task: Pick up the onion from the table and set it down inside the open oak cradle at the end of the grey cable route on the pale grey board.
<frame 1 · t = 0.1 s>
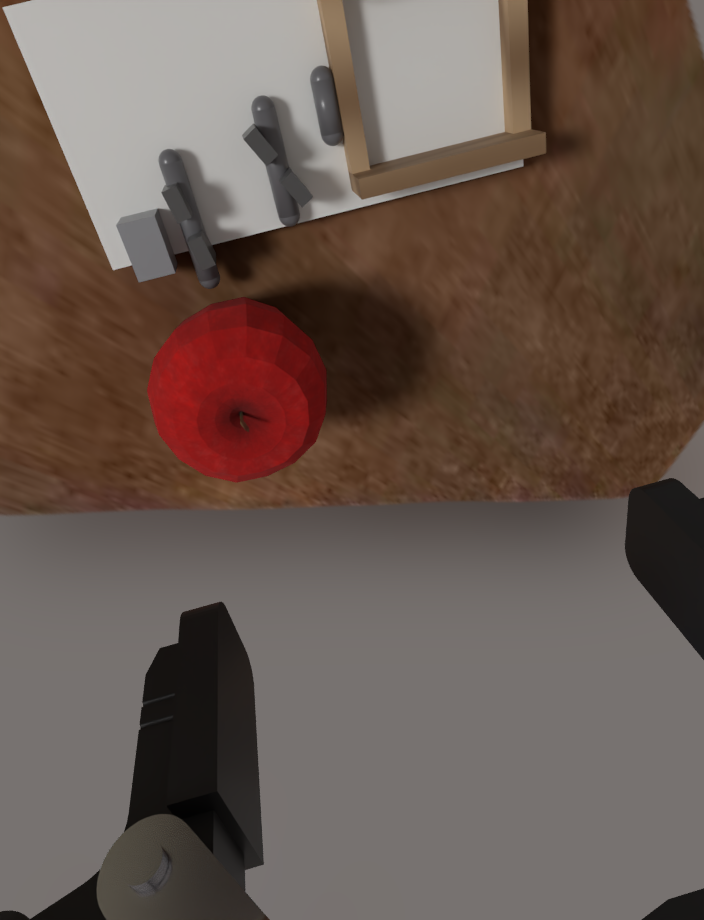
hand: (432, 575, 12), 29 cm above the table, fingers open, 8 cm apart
apple: (237, 346, 39), on the table
route board: (292, 95, 32), on the table
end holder: (426, 64, 32), resting on route board
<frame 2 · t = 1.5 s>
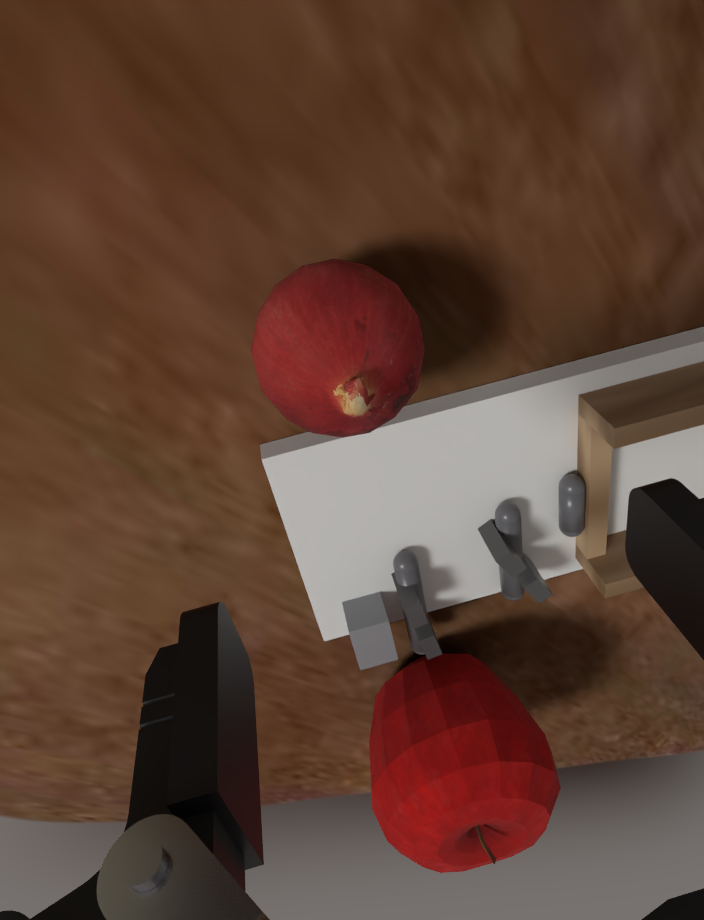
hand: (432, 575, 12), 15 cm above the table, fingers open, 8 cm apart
apple: (425, 669, 38), on the table
onion: (323, 312, 24), on the table
route board: (527, 480, 30), on the table
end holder: (674, 457, 30), resting on route board
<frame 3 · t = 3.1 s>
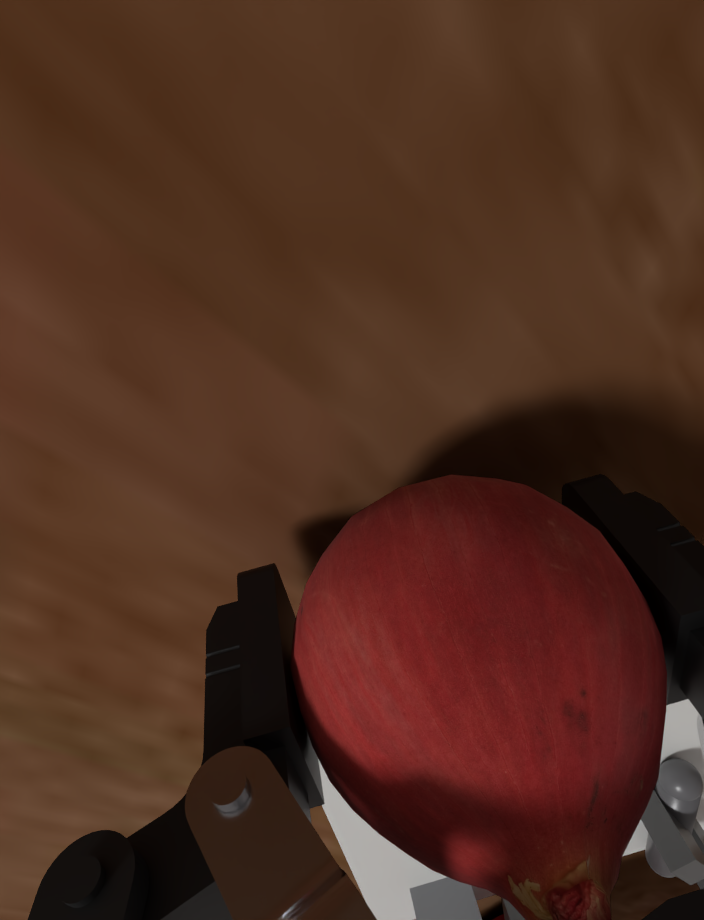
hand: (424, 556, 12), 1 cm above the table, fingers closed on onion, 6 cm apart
onion: (408, 511, 13), on the table, touching gripper
route board: (697, 708, 20), on the table
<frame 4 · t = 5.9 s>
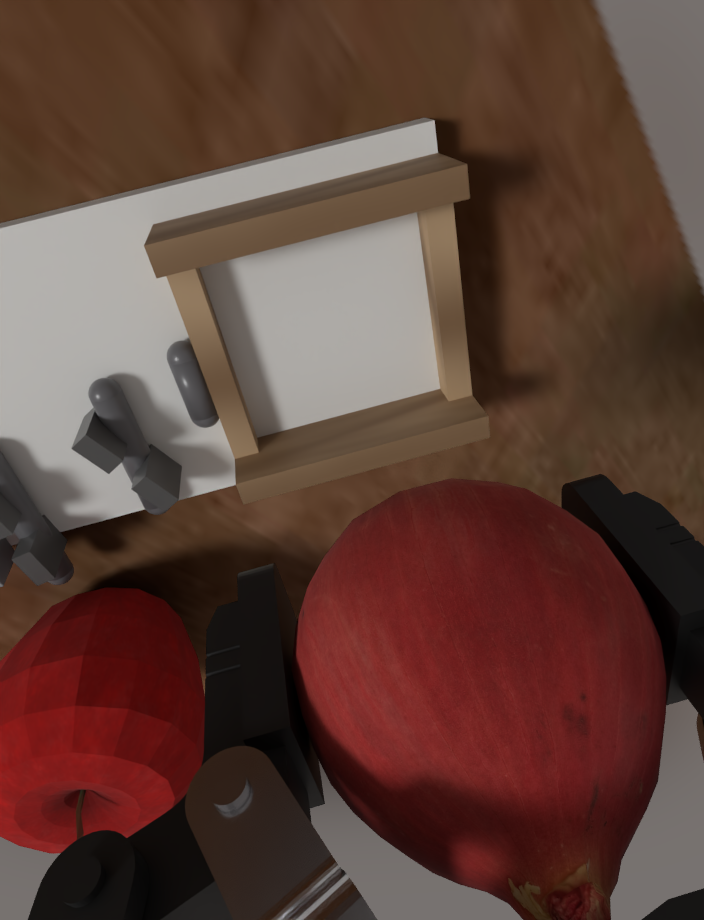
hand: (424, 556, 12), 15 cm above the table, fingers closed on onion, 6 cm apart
apple: (116, 614, 31), on the table
onion: (409, 514, 13), point 13 cm above the table, touching gripper
route board: (154, 358, 24), on the table
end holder: (328, 324, 24), resting on route board
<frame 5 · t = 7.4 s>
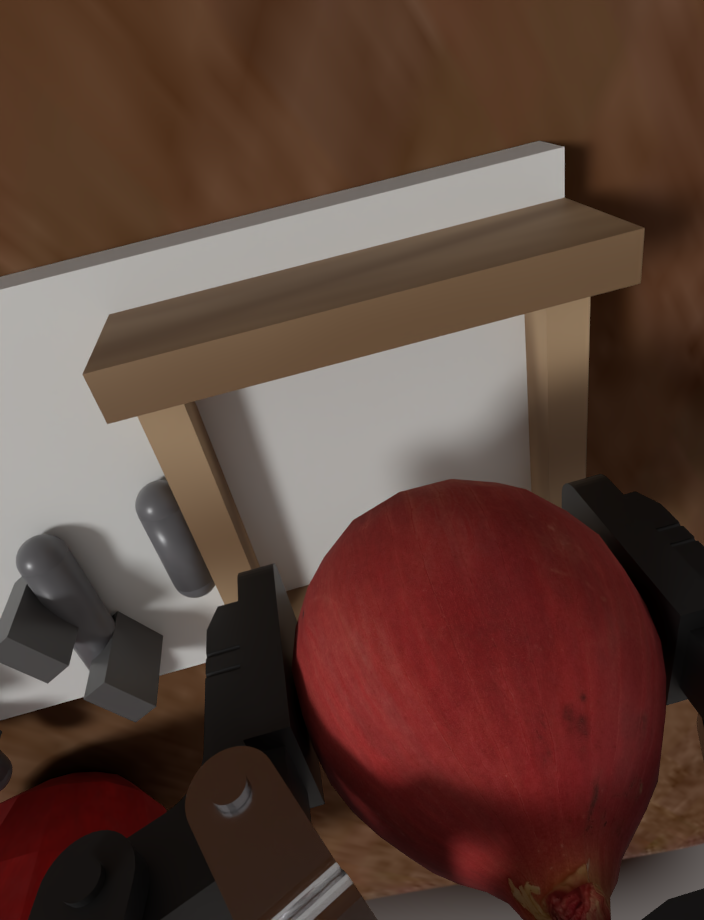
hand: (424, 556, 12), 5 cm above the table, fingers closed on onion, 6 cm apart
apple: (80, 792, 23), on the table
onion: (409, 514, 13), point 4 cm above the table, touching gripper
route board: (120, 492, 16), on the table
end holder: (380, 447, 16), resting on route board
when the fingers open (4 cm above the table, at t = 8.6 s): onion drops 2 cm, resting on route board.
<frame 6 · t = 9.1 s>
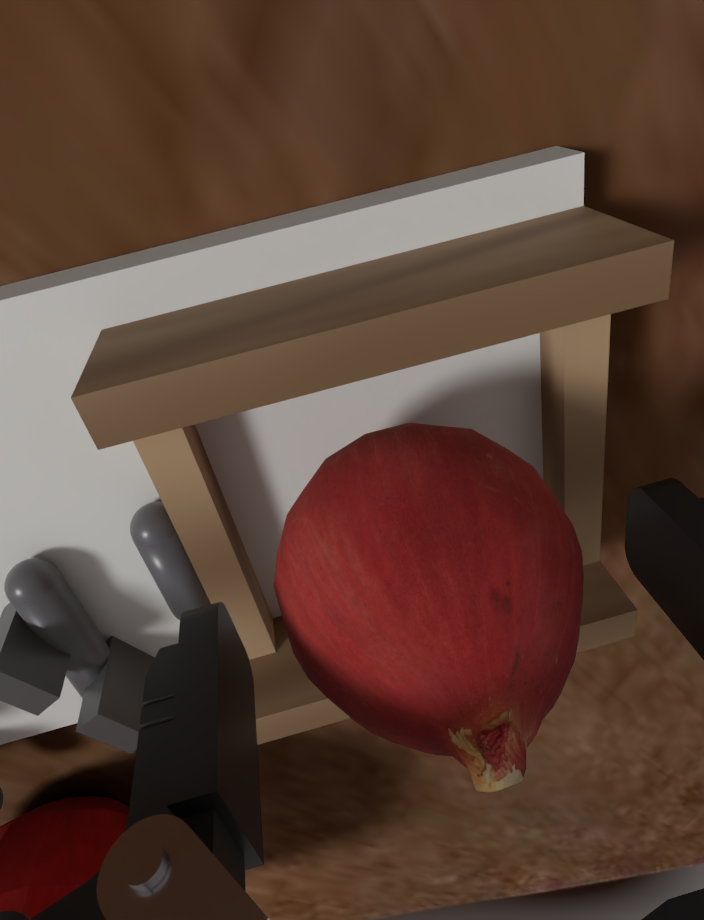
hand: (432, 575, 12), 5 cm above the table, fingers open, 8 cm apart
apple: (75, 816, 23), on the table
onion: (378, 464, 15), point 1 cm above the table, touching route board
route board: (115, 512, 16), on the table
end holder: (387, 466, 15), resting on route board
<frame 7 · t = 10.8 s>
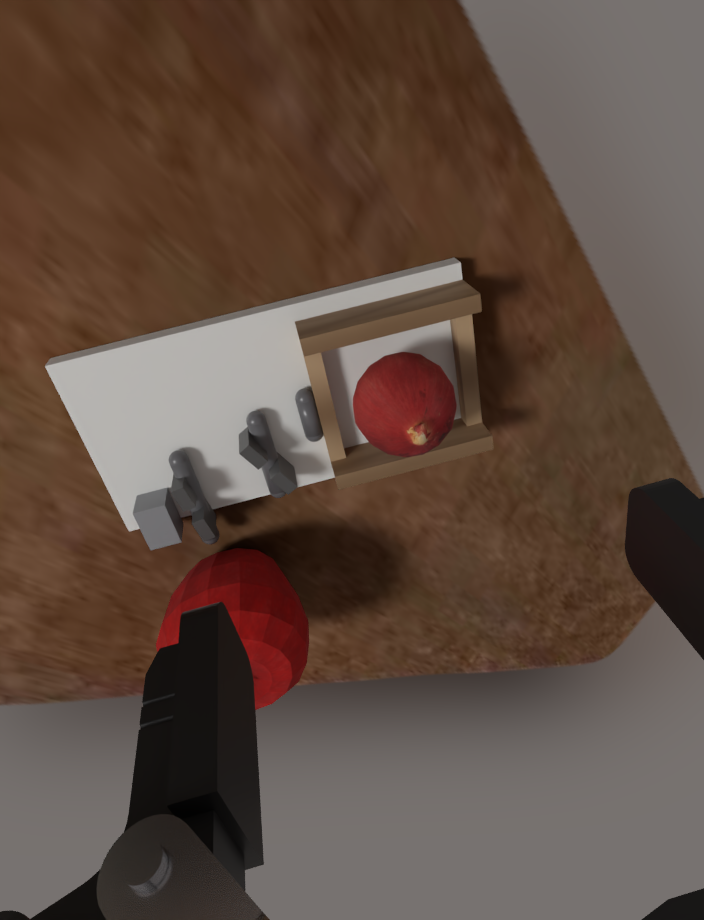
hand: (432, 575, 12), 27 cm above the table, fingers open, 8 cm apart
apple: (234, 570, 45), on the table
onion: (389, 377, 38), point 1 cm above the table, touching route board
route board: (281, 398, 39), on the table
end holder: (392, 378, 38), resting on route board
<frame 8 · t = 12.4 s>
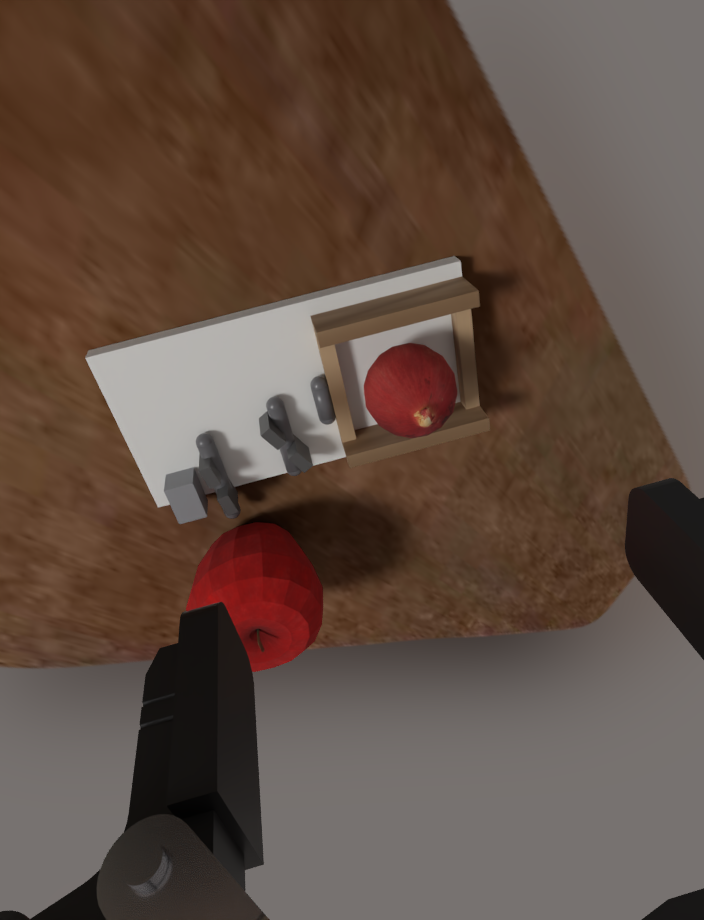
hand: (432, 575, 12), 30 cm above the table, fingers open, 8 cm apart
apple: (252, 543, 49), on the table
onion: (395, 365, 42), point 1 cm above the table, touching route board
route board: (297, 385, 42), on the table
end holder: (398, 366, 42), resting on route board
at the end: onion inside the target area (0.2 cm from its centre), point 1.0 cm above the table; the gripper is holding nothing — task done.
